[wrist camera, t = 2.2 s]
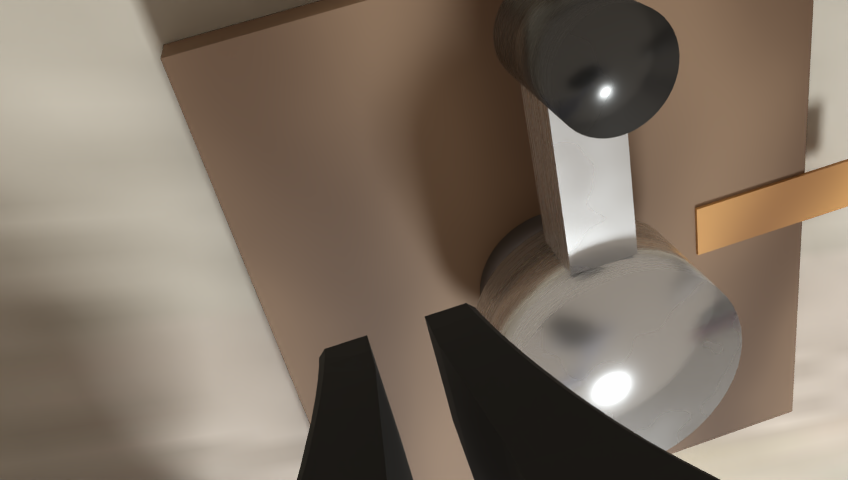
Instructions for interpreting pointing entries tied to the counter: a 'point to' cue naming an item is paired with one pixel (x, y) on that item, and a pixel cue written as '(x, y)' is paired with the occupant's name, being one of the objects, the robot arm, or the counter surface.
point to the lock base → (489, 182)
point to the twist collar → (605, 226)
